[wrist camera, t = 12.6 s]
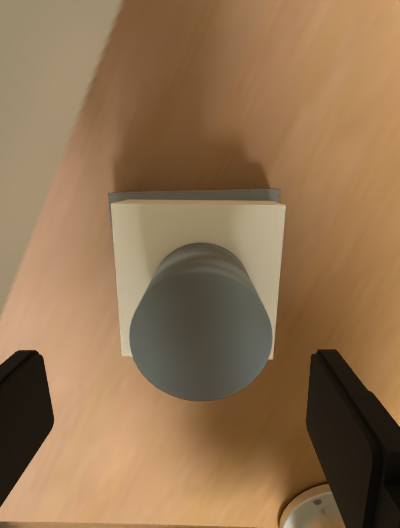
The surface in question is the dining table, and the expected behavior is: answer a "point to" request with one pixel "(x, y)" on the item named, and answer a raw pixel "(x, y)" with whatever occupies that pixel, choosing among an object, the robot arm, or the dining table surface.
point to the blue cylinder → (200, 325)
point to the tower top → (194, 231)
